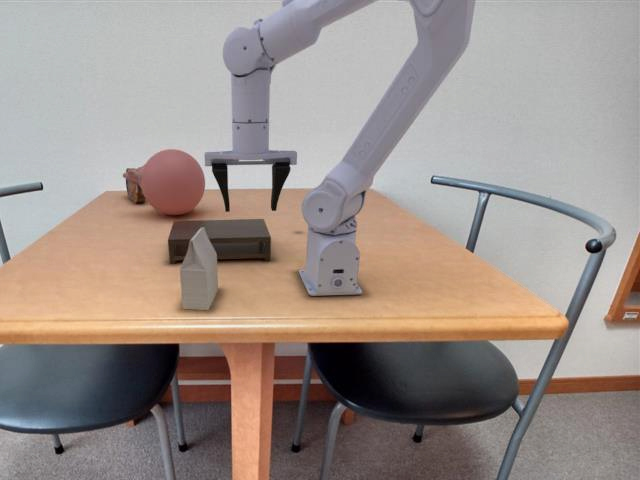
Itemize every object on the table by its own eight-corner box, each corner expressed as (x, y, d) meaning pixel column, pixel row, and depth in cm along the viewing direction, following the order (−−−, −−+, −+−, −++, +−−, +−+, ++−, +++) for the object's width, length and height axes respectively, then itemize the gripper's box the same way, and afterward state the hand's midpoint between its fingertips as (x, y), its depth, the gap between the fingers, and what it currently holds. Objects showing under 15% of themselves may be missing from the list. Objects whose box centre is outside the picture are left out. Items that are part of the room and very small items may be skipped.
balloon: (138, 205, 116) (132, 145, 110) (211, 207, 114) (209, 145, 107) (116, 221, 103) (107, 153, 96) (199, 223, 100) (195, 154, 93)
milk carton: (218, 290, 66) (215, 227, 62) (208, 310, 60) (205, 241, 56) (194, 289, 67) (190, 226, 63) (182, 308, 61) (177, 240, 57)
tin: (126, 195, 128) (122, 166, 125) (136, 194, 129) (133, 165, 126) (137, 206, 116) (134, 173, 112) (149, 204, 117) (146, 173, 113)
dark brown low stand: (270, 260, 78) (270, 236, 76) (169, 263, 77) (167, 239, 75) (263, 240, 88) (263, 218, 87) (175, 242, 88) (173, 220, 86)
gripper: (293, 119, 70) (290, 203, 76) (204, 121, 70) (207, 205, 76) (300, 122, 64) (296, 213, 70) (202, 124, 63) (206, 215, 69)
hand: (250, 209), depth 72 cm, fingers open, 7 cm apart
